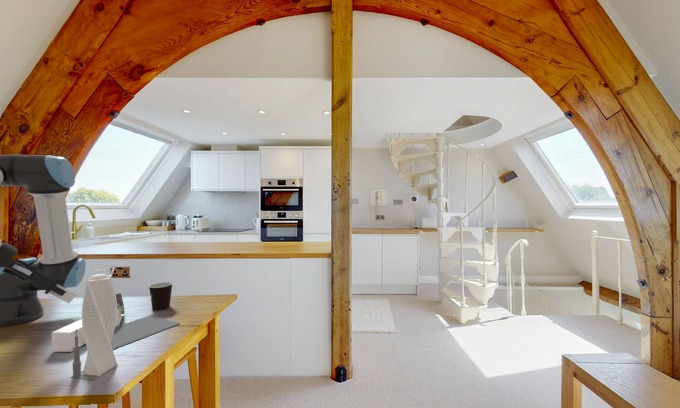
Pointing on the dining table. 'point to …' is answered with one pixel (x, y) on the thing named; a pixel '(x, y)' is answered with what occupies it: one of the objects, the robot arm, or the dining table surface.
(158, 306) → the coffee mug
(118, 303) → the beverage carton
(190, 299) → the dining table surface
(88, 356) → the skyscraper
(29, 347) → the dining table surface
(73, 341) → the milk
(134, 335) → the mat
